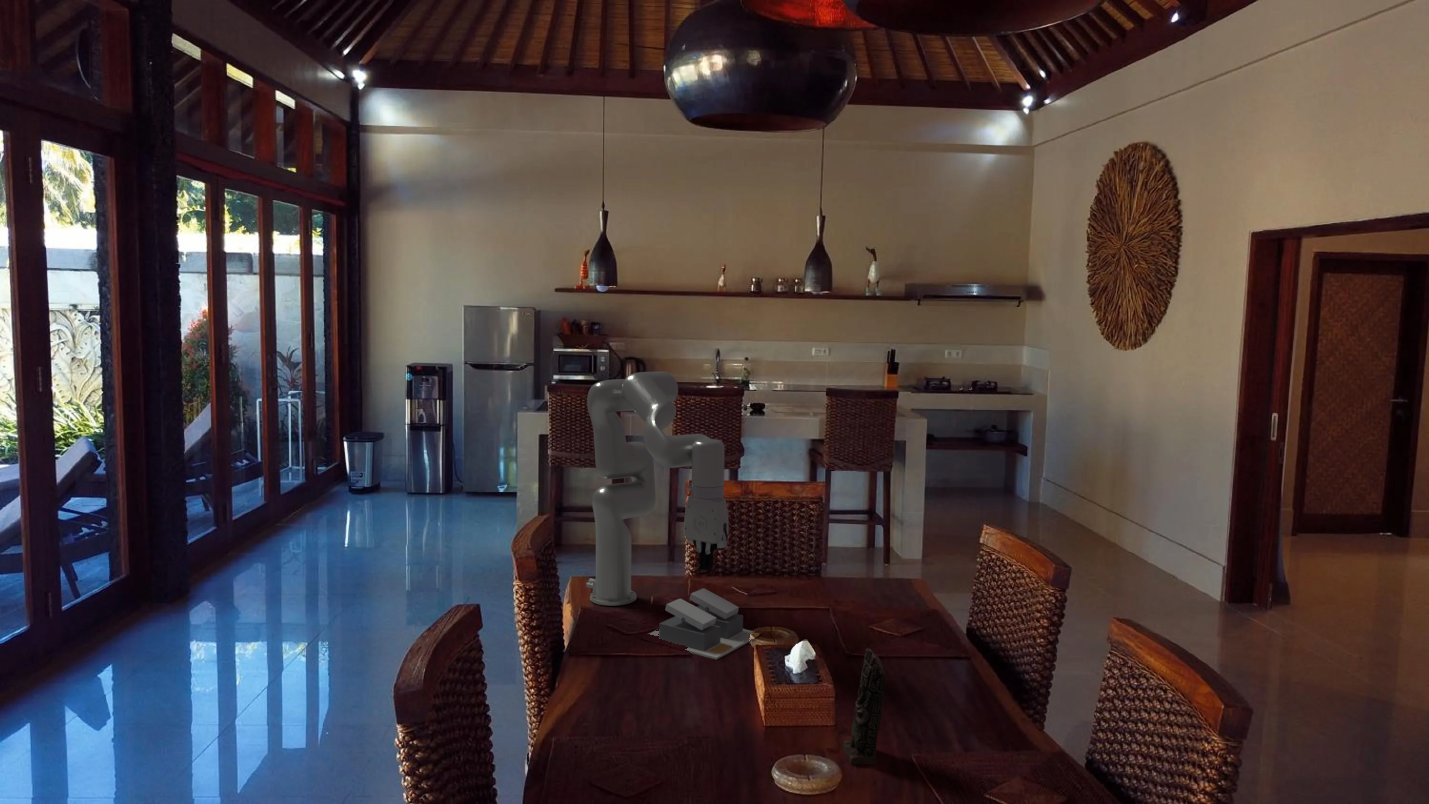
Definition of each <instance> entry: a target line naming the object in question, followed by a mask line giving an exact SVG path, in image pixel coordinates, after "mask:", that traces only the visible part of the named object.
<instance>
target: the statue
mask: <svg viewBox="0 0 1429 804" xmlns="http://www.w3.org/2000/svg"><path fill="white" fill-rule="evenodd" d="M863 657H864V659H863V663H862V664H863V665H862V670H861V674H860V675H861V676H860V682H859V683H860V684H859V687H858V692H857V696H858V697H857V699H856V701H855V708H854V710H853V711H854V717H853V721H852V726H851V735H850V739H847V740H844V741H843V744H842V748H843V752H844V754H845V753H846V754H845V756H847V758H848V757H849V758H848V761H849V763H850V764H852V765H865V764H867V765H871V764H872V765H875V764H876V763H877V756H876V754H877V742H878V736H879V729H880V725H881V719H882V715H883V714H882V713H883V706H884V704H883V703H884V689H885V685H886V679H887V675H886V673H885V669H884V665H883V663H882V660H881V659H880V658H879V656H878V655H877V654H876V653H875V652H874V651H872V649H870V648H866V649H865V653H864V656H863Z"/></svg>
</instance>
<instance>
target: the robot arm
mask: <svg viewBox="0 0 1429 804" xmlns="http://www.w3.org/2000/svg"><path fill="white" fill-rule="evenodd" d="M678 394H679V386H678V382H677V380H676V378H675V377H674V376H673V375H672V374H671V373H670V372H668V371H661V370H660V371H659V370H658V371H643V372H642V371H640V372H634V373H632V374H629V375H628V376H627V377H625V378H621V379H620V378H619V379H606V380H601V381H598V382H596V383H594V384H592V386H591V387H590V389H589V390H588V393H587V397H586V398H587V400H586V406H587V411H588V415H589V417H590V421H591V426H592V430H593V444H594V457H595V469H596V472H597V475H598V476H599V477H600V478H601V479H604V480H616V479H617V480H618V479H627V478H630V479H631V481H630V482H620V483H611V484H606V485H602V486H601V487H598V488H597V489H596V490H595V491H594V492H593V495H592V497H591V498H592V499H591V501H592V503H591V504H592V511H593V515H594V523H595V578H591V577H590V578H589V579H588V582H586V583H585V586H586V587H587V588H590V589H592V592H591V593H590V595H589V600H590V601H591V602H592V603H593V604H597V605H600V606H606V607H607V606H611V607H612V606H613V607H615V606H616V607H618V606H625V605H628V604H631V603H633V602H635V601H636V600H637V593H636V592H635V591H633V590H632V535H631V531H630V529H629V527H628V526H627V525H626V523H625V522H624V519H630V518H637V517H643V516H647V515H650V514H652V512H654V509H655V506H656V501H657V499H656V481H655V480H656V479H655V465H654V464H655V462H656V463H657V464H659V465H660V466H661V467H663V468H665V469H672V468H673V469H674V468H676V469H677V468H682V467H691V484H689V485H688V486H687V490H689V491H691V492H690V494H691V495H689V496H687V497H688V498H687V501H686V506H685V510H684V511H685V512H684V521H683V535H684V537H685V538H686V541H688V542H689V543H691V544H693V545H694V546H695V548H696V552H697V553H698V563H699V570H701V571H705V572H706V571H708V570H711V569H712V568H714V567H713V566H714V553H715V552H716V551H717V550H718V549H723V548H726V547H727V546H728V542H727V539H728V538H729V511H728V505H727V500H726V498H724V494H725V493H724V491H725V489H724V487H725V444H724V443H723V442H722V440H720V439H717V438H716V439H714V438H710V437H709V436H707V435H705V434H702V433H691V434H690V433H689V434H680V435H679V434H678V435H677V434H676V435H666V434H665V432H664V431H663V430H664V429H666V428H667V427H668V426H669V425H670V424H671V423H672V422H673V421H674V420H675V417H676V413H677V407H676V405H675V403H674V401H675V400H676V399H677V397H678ZM630 411H631V412H632V411H635V412H636V413H637V415H638V416H639V417H640V418H641V419H642V420H643V422H644V425H643V431H642V438H643V442H642V441H628V442H627V438H626V427H625V424H624V421H623V420H622V419H621V418H620V416H619V415H618V414H617V412H630ZM654 461H655V462H654Z"/></svg>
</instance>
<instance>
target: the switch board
mask: <svg viewBox="0 0 1429 804" xmlns="http://www.w3.org/2000/svg"><path fill="white" fill-rule="evenodd" d="M696 607H697V608H699V609H701V610H703V611H705V612H707V611H706V610H705V608H704V607H702V606H700V605H699V604H698V605H697V606H696ZM707 613H709V614H710V615H712V616H714V617H716V622H715V624H714V625H711V626H709V627H707V628H705V629H703V630H700V629H699V628H697V627H695V626H693V625H691V624H689V623H688V622H684V623H683V622H682V621H681V619H680V618H678V617H677V616H675V615H674V616H673V617H670V618H668V619H666V620H664V621H661V622H659V626H658V627H659V628H658V629H659V631H656V630H654V631H651V632H649V633H648V634H650V635H654V636H659V639H662V640H665V641H668V642H672V643H675V644H679V645H684V646H686V647H688V648H687V649H685V650H687V651H689V652H690V653H691V654H693V655H696V656H700V657H705V658H707V659H712V660H718V659H721V658H722V657H724V656H726V655H728V654H730V653H731V652H733V651H736V650H738V649H739V648H740V647H742V646H745V645H746V644H748V643H750V642H749V640H750V639H749V638H750V634H751V633H752V632H753V630H750V629H745V628H744V615H742V614H738V613H737V614H735V615H732V616H730V617H728V618H726V619H724V618H722V617H720V616H719V615H717V614H715V613H713V612H711V611H708V612H707ZM658 634H659V635H658ZM689 652H688V653H689Z"/></svg>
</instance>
